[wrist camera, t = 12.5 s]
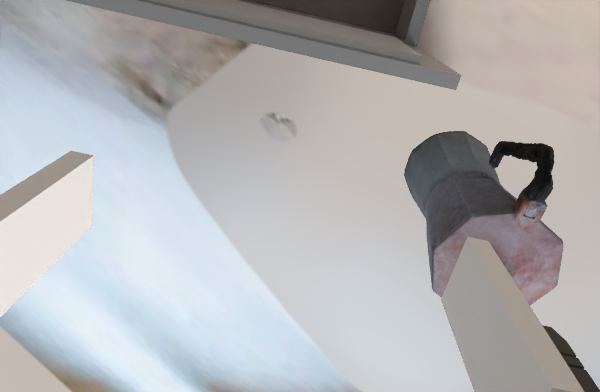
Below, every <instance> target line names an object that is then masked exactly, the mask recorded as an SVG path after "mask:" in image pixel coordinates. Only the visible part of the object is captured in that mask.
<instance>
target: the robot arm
mask: <svg viewBox="0 0 600 392" xmlns="http://www.w3.org/2000/svg"><path fill="white" fill-rule="evenodd" d="M93 162H94V156H93V155H88V154H83V153H79V152H74V151H70V152H69V153H67V154H65V155H64V156H62V157H61V158H59V159H57V160H56V161H54V162H53V163H51V164H49V165H48V166H46V167H45V168H43V169H41V170H40V171H38V172H37V173H35V174H33V175H32V176H30V177H29V178H27V179H25V180H24V181H22V182H21V183H19V184H17V185H16V186H14V187H13V188H11V189H9V190H8V191H6V192H5V193H3V194H1V195H0V317H1V316H2V315H3V314H4V313H5V312H6V311H7V310H8V309H9V308H10V307H11V306H12V305H13V304H14V303H15V302H16V301H17V300H18V299H19V298H20V297H21V296H22V295H23V294H24V293H25V292H26V291H27V290H28V289H29V288H30V287H31V286H32V285H33V284H34V283H35V282H36V281H37V280H38V279H39V278H40V277H41V276H42V275H43V274H44V273H45V272H46V271H47V270H48V269H49V268H50V267H51V266H52V265H53V264H54V263H55V262H56V261H57V260H58V259H59V258H60V257H61V256H62V255H63V254H64V253H65V252H66V251H67V250H68V249H69V248H70V247H71V246H72V245H73V244H74V243H75V242H76V241H77V240H78V239H79V238H80V237H81V236H82V235H83V234H84V233H85V232H86V231H87V230H88V229H89V228H90V227H91V226H92V209H93ZM441 301H442V303H443V306H444V309H445V312H446V315H447V317H448V320H449V323H450V326H451V328H452V331H453V334H454V336H455V339H456V342H457V345H458V347H459V350H460V353H461V355H462V359H463V361H464V364H465V367H466V370H467V372H468V375H469V378H470V381H471V383H472V386H473V389H474V391H475V392H600V390H599V389H598V387H597V386H596V384H595V383H594V381H593V380H592V378H591V377H590V375H589V374H588V372H587V371H586V370H584V367H583V365H582V363H581V362H580V361H579V359H578V358H576V355H575V353H574V352H573V350H572V349H571V347H570V346H569V344H568V343H567V341H566V340H564V339H563V338H562V337H561V336H560V335H559V334H558V333H557V332H556V331H555V330H554V329H552V328H551V327H547V326H542V324H541V323H540V321H539V320H538V318H537V316H536V315H535V314H534V312H533V310H532V309H531V307H530V305H529V304H528V302H527V301H526V299H525V298H524V296H523V294H522V293H521V291H520V290H519V288H518V287H517V285H516V283H515V282H514V280H513V279H512V277H511V276H510V274H509V272H508V271H507V269H506V268H505V266H504V265H503V263H502V261H501V260H500V258H499V257H498V255H497V254H496V252H495V250H494V249H493V247H492V246H491V244H490V243H489V241H486V240H481V239H476V238H472V237H467V239H466V241H465V244H464V246H463V248H462V251H461V253H460V255H459V258H458V260H457V262H456V265H455V267H454V270H453V272H452V274H451V277H450V279H449V281H448V284H447V286H446V289H445V291H444V293H443V296H442V298H441Z"/></svg>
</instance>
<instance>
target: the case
mask: <svg viewBox="0 0 600 392" xmlns="http://www.w3.org/2000/svg"><path fill="white" fill-rule="evenodd" d="M67 1H71V2H76V3H80V4H84V5H89V6H93V7H97V8H102V9H106V10H110V11H115V12H119V13H123V14H128V15H132V16H137V17H141V18H145V19H150V20H154V21H158V22H163V23H167V24H171V25H176V26H180V27H184V28H189V29H193V30H197V31H202V32H206V33H210V34H215V35H219V36H224V37H228V38H232V39H237V40H241V41H245V42H250V43H254V44H259V45H263V46H267V47H272V48H276V49H280V50H285V51H289V52H293V53H297V54H302V55H307V56H311V57H315V58H319V59H324V60H328V61H332V62H337V63H341V64H346V65H350V66H354V67H359V68H363V69H367V70H372V71H376V72H380V73H385V74H389V75H394V76H398V77H402V78H406V79H411V80H416V81H419V82H424V83H428V84H432V85H437V86H442V87H446V88H450V89H454V90H456V88H457V86H458V83H459V80H460V77H461V75H460V74H458V73H457V72H455V71H453V70H452V69H450V68H449V67H447V66H446V65H444V64H443V63H441V62H440V61H438V60H436V59H435V58H433V57H432V56H430V55H429V54H427V53H426V52H424V51H423V50H421V49H419V48H418V47H416V45H417V41H418V38H419V35H420V32H421V28H422V25H423V22H424V19H425V15H426V12H427V9H428V6H429V2H430V0H405V2H404V5H403V9H402V12H401V16H400V19H399V23H398V26H397V30H396V33H395V34H391V33H387V32H383V31H378V30H374V29H370V28H365V27H361V26H357V25H353V24H348V23H344V22H340V21H335V20H331V19H327V18H323V17H318V16H314V15H310V14H305V13H301V12H297V11H293V10H288V9H284V8H280V7H275V6H271V5H267V4H263V3H258V2H254V1H250V0H67Z"/></svg>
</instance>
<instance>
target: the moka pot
mask: <svg viewBox="0 0 600 392" xmlns="http://www.w3.org/2000/svg"><path fill="white" fill-rule="evenodd" d="M504 155H506V156H509V155H512V156H513V157H516V158H518V159H523V160H529V161H531V162H537V166H538V169H537V170H536V172H535V177H534V179H533V180H532V182H531V183H530V184H529V185H528V186H527V187H526V188H525V189H523V191H522V192H521V193H520V195H519V197H518V199H516V198H515V197H514V196H512V195H511V194H510V193H509V192H508V191H506V190H505V189H504V188H503V187H502V186H501V184H500V182H499V179H498V176H497V173H496V171H495V168H496V167H498V165H499V163H500V161H501V159H502V157H503V156H504ZM553 164H554V151H553V149H552V147H550V146H548V145H545V144H541V143H539V144H536V143H534V144H532V143H531V144H523V143H515V142H506V141H501V142H499V143H498V144H497V145H496V147H495V149H494V151H493V153H492V155H491V156H490V154H489V151H488V148H487V147H486V146H485V145H484V144H483V143H481V142H480V141H479V140H477V139H476V138H474V137H473V136H471V135H469V134H468V133H467V132H464V131H454V132H451V131H450V132H443V133H439V134H435V135H433V136H431V137H429V138H428V139H426V140H425V141H424V142H422V143H421V144H419V145H418V146H417V147H416V148H415V149H413V151H412V153H411V154H410V157H409V159H408V162H407V165H406V168H405V174H404V176H405V179H406V182H407V185H408V188H409V190H410V193H411V195H412V197H413V199H414V200H415V202H416V203H417V205H418V207H419V208H420V210H421V212H422V213H423V215H424V216H425V218H426V221H427V243H428V253H429V263H430V272H431V281H432V289H433V291H434V292H435V293H436V294H438V295H439V296H440V297H441V298H442V296H443V293H444V291H445V289H446V286H447V284H448V281H449V279H450V277H451V274H452V272H453V270H454V267H455V265H456V262H457V260H458V258H459V255H460V253H461V251H462V248H463V246H464V244H465V241H466V239H467V237H472V238H476V239H481V240H486V241H489V243H490V244H491V246H492V247H493V249H494V250H495V252H496V254H497V255H498V257H499V258H500V260H501V261H502V263H503V265H504V266H505V268H506V269H507V271H508V272H509V274H510V276H511V277H512V279H513V280H514V282H515V283H516V285H517V287H518V288H519V290H520V291H521V293H522V294H523V296H524V298H525V299H526V301H527V302H528V304H529V305H531V304H533V303H534V302H535V301H537V300H538V299H540V298H541V297H542V296H544V295H545V294H547V293H548V292H549V291H551V290H552V289H554V288H555V287H556V285H557V283H558V277H559V271H560V265H561V259H562V252H563V241H562V239H560V238H559V237H558V236H557V235H556V234H555V233H554V232H553V231H551V230H550V229H549V228H548V227H547V226H546V225H545V224H544V223H543V222H542V221H540V219H541V217H542V216H543V214H544V212H545V210H546V207H547V205H546V202H545V199H546V198H547V197H548V195H549V194H550V193H551V191H552V189H553V187H552V186H553V180H552V175H551V171H552V169H553Z"/></svg>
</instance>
